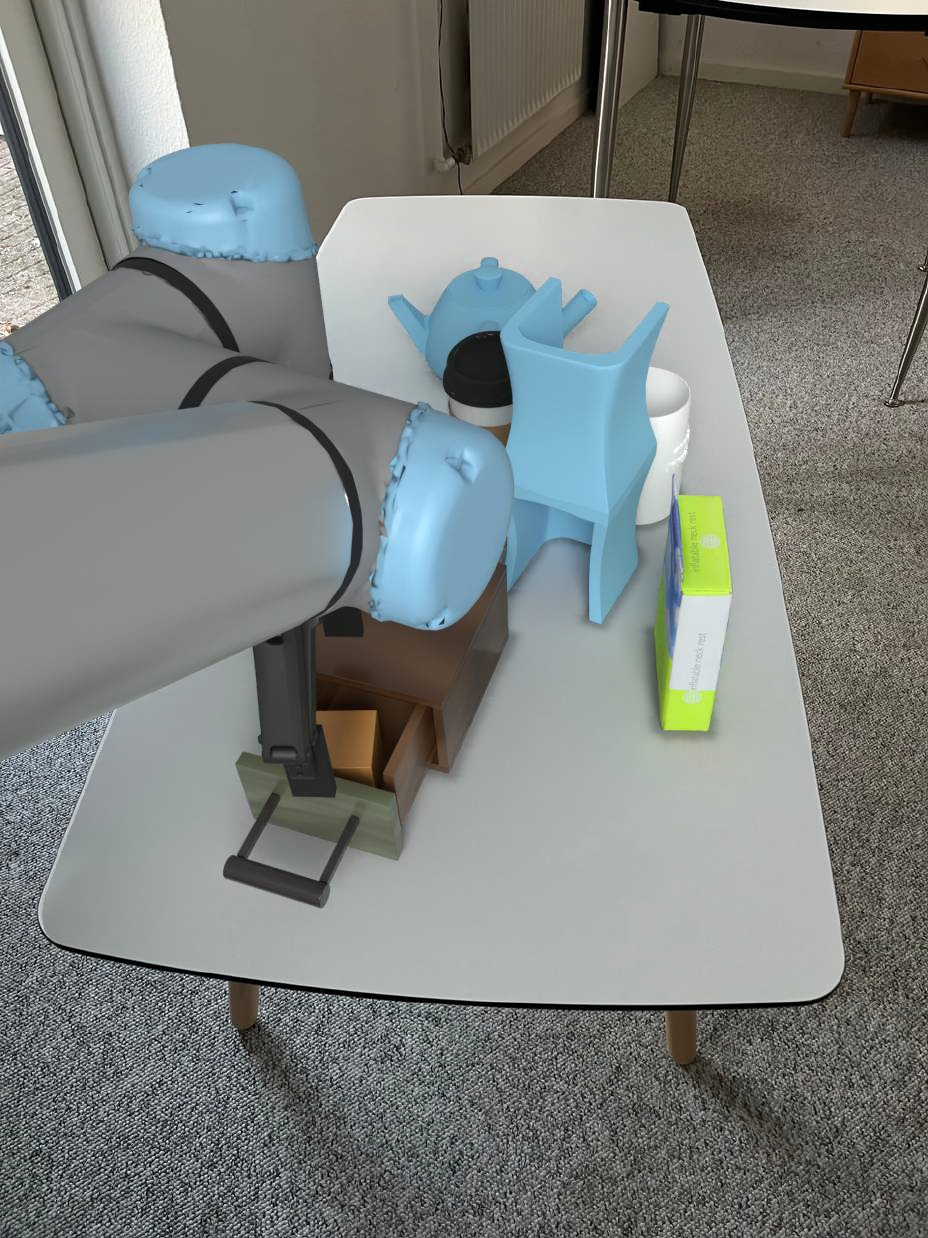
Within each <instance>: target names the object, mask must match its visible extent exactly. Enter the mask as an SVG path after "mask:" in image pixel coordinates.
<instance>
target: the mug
mask: <svg viewBox="0 0 928 1238" xmlns="http://www.w3.org/2000/svg"><path fill="white" fill-rule="evenodd" d="M646 404H647V410H648V416H649V419H650V423H651V426H652V429H653V432H654V435H655V438H656V440H657V450H656V456H655V458H654V460H653V463H652V465H651V468H650V470H649V473H648V475H647V478H646V480H645V483H644V486H643V489H642V492H641V495H640V499H639V503H638V508H637V514H636V526H644V525H645V526H646V525H650V524H655V523H658V522H660V521H662V520H664V519H666V518H667V517H668V518H669V517H670V509H671V500H672V476H673V474H674V473H675V474H676V481H677V495H680V491H681V482H682V474H683V467H684V462H685V460H686V458H687V455H688V451H689V450H688V449H689V441H690V434H691V432H690V431H691V428H690V425H689V420H690V414H691V404H692V392H691V389H690V386H689V384H688V383H687V381H686V380H685V379H683V378H682V377H681V376H680V375H678V374H677V373H675V372H672V371H669V370H668V369H664V368H660V367H656V366H655V367H654V366H649V369H648V375H647V381H646Z"/></svg>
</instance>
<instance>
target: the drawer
mask: <svg viewBox="0 0 928 1238" xmlns="http://www.w3.org/2000/svg"><path fill="white" fill-rule="evenodd" d="M353 710H377V715H378V721H379V727H380V732H381V738H382V744H383V750H384V755H383V767H382V778H381V789H378V788H374V787H370V786H367V785H363V784H360V783H356V782H352V781H349V780H345V779H342V778H338V777H334V778H335V782H336V786H337V789H336V795H335V798H327V797H293V796H292V793H291V789H290V786H289V782H288V779H287V775H286V772H285V769H284V765H283V764H265V763H264V762H263V757H262V755H258V754H255V753H251V752H247V751H245V750H244V751H242V752H241V753H240V755H239V756H238V758H237V759H236V761H235V764H234V766H235V768H236V771H237V775H238V777H239V780H240V783H241V787H242V789H243V792H244V794H245V799H246V800H247V803H248V806H249V809H250V813H251V815H252V818H253V819H254V820H255V821H254V823H253V825H252V827H251V828H250V830H249V832H248V834H247V835H246V837H245V839H244V841H243V843H242V845H241V846H240V848H239V849H238V852H237V853H236V855H235V854H231V855H229V857H228V858H227V859H226V861H225V863H224V864H223V865H224V866H223V869H222V876H223V878H224V879H225V880H228V881H230V882H235V883H237V884H241V885H244V886H248V887H250V888H254V889H257V890H260V891H263V892H267V893H270V894H273V895H276V896H279V897H282V898H286V899H289V900H292V901H294V902H298V903H301V904H304V905H308V906H311V907H315V908H317V909H324V907H325V906H326V905H327V903H328V900H329V898H330V894H331V885H330V884H331V882H332V880H333V877H334V876H335V873H336V872H337V869H338V867H339V865H340V863H341V862H342V859H343V858H344V857H343V856H344V855H345V853H346V852H347V850H348V848H352V849H355V850H358V851H362V852H366V853H369V854H371V855H375V856H379V857H382V858H386V859H390V860H393V861H397V862H398V861H399V860H400V858H401V856H402V853H403V852H404V849H405V845H404V839H403V834H402V827H403V826H404V823H405V821H406V819H407V817H408V814H409V812H410V810H411V807H412V806H413V803H414V801H415V800H416V799H415V798H416V796H417V795H418V792H419V790H420V788H421V786H422V783H423V781H424V779H425V777H426V774H427V772H428V771H429V769H428V768H429V766H430V764H431V761H432V759H433V757H434V755H435V753H436V750H437V743H436V734H435V725H434V716H433V707H430V706H426V705H423V704H419V703H415V702H411V701H407V700H403V699H399V698H395V697H391V696H387V695H383V694H379V693H375V692H371V691H367V690H363V689H359V688H355V687H351V686H347V685H343V684H339V683H335V682H331V681H327V680H323V679H319V678H316V711H353ZM267 824H271V825H274V826H276V827H277V826H278V827H280V828H285V829H288V830H291V831H294V832H297V833H300V834H304V835H307V836H311V837H315V838H318V839H322V840H324V841H328V842H332V843H335V844H336V845H335V846H334V849H333V851H332V852H331V855H330V856H329V859H328V860H327V863H326V865H325V867H324V869H323V871H322V873H321V875H320V877H319V879H314V878H311V877H308V876H304V875H301V874H298V873H294V872H292V871H288V870H284V869H282V868H278V867H275V866H272V865H268V864H265V863H262V862H259V861H256V860H253V859H249V857H250V855H251V853H252V852H253V849H254V848H255V846H256V845H257V843H258V841H259V839H260V838H261V836H262V834H263V832H264V830H265V828H266V826H267Z"/></svg>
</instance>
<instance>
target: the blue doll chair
mask: <svg viewBox="0 0 928 1238" xmlns="http://www.w3.org/2000/svg"><path fill="white" fill-rule="evenodd" d="M562 290H563V288H562V281H561V279H560V278H556V277H552V276H549V277H548V278H547V280H545V282H543V284H541V285H540V286H539V288H538V289H537V290H536V292H535V293H534V295H533V296H532V297H531V298H530V299H529V300H528V301H527V302H526V303H525V304H524V305H523V306H522V307H521V308H520V310H519V311H518V312H517V313H516V314H515V315H514V316H513V317H512V318H511V319H510V320H509V321H508V322H507V324H506V325H505V326H504V327H503V329H502V331H501V333H500V339H501V343H502V347H503V350H504V354H505V358H506V362H507V366H508V370H509V375H510V381H511V387H512V395H513V416H512V423H511V430H510V434H509V438H508V442H507V446H506V448H505V449H506V451H507V453H508V455H509V458H510V461H511V465H512V470H513V475H514V500H513V507H512V514H511V520H510V525H509V529H508V533H507V537H506V538H507V546H506V556H505V562H504V564H506V565H507V593H508V592H510V591H511V589H512V588H513V586H514V584H515V583H516V582H517V581H518V579H519V578H520V576H521V575H522V574H523V572H524V571H525V569H526V568H527V567H528V565H529V564H530V562H531V561H532V560H533V559H534V557H535V555H536V554H537V553H538V551H539V550H540V549H541V547H542V546H543V545H544V544H545V543H546V542H548V541H551V540H554V539H560V538H562V539H563V538H564V539H570V540H573V541H577V542H580V543H583V544H586V545H589V546H590V558H589V576H588V592H589V593H588V611H589V612H588V620H589V621H591V622H593V623H596V624H599V625H602V624H603V622H604V621H605V619H606V617H607V616H608V614H609V613H610V611H611V610H612V608H613V606H614V605H615V604H616V601H617V600H618V598H619V597H620V595H621V593H622V592H623V590H624V589H625V587H626V586H627V584H628V582H629V580H630V579H631V577H632V576H633V574H634V572H635V570H636V569H637V567H638V565H639V562H640V557H639V550H638V544H637V525H636V514H637V508H638V503H639V499H640V495H641V492H642V489H643V486H644V483H645V480H646V478H647V475H648V473H649V470H650V468H651V465H652V463H653V460H654V458H655V456H656V450H657V440H656V438H655V435H654V432H653V429H652V426H651V423H650V419H649V416H648V410H647V404H646V381H647V375H648V369H649V367H650V365H651V361H652V357H653V354H654V351H655V347H656V345H657V341H658V339H659V336H660V333H661V331H662V328H663V325H664V324H665V321H666V318H667V316H668V313H669V310H670V306H671V305H670V303H665V302H661V301H656V302H655V303H654V305H653V307H652V308H651V309H650V310H649V312H648V313H647V314H646V315H645V317H644V318H643V319H642V321H641V322H640V323H639V324H638V325H637V327H636V328H635V329H634V331H633V332H632V333H631V335H630V336H629V337H628V338H627V340H626V341H625V342H624V343H623V344H622V345H621V347H620V348H619V349H618V350H615V351H611V352H604V353H581V352H576V351H573V350H572V351H571V350H568V349H564V338H563V313H562V309H563V292H562Z"/></svg>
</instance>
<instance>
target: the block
mask: <svg viewBox="0 0 928 1238" xmlns="http://www.w3.org/2000/svg"><path fill="white" fill-rule="evenodd" d="M316 724H322V727H323V731H324V735H325V739H326V744H327V748H328V752H329V756H330V761H331V765H332V769H333V774H334V777H338V778H342V779H345V780H349V781H352V782H356V783H360V784H363V785H367V786H370V787H374V788H378V789H381V778H382V767H383V755H384V750H383V744H382V738H381V732H380V727H379V721H378V715H377V710H353V711H316Z"/></svg>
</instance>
